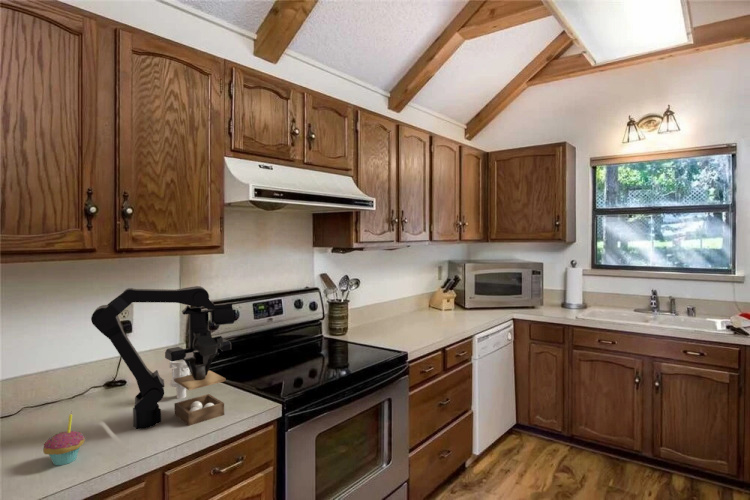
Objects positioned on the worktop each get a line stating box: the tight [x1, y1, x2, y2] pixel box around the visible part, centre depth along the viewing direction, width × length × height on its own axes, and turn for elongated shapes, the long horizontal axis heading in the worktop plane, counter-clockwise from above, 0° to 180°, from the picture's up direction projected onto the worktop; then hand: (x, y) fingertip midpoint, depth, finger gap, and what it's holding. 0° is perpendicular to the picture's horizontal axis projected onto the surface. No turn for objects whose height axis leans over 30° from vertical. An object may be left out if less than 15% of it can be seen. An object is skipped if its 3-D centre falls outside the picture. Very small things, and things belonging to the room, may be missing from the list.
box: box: [174, 393, 225, 427], centre depth 136 cm, size 11×11×4 cm
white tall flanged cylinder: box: [169, 360, 191, 400], centre depth 151 cm, size 7×7×15 cm
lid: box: [174, 363, 227, 391], centre depth 136 cm, size 11×11×5 cm
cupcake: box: [42, 410, 85, 466], centre depth 110 cm, size 9×8×12 cm
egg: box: [190, 401, 203, 409], centre depth 137 cm, size 4×4×4 cm
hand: (199, 376), depth 136 cm, fingers closed on lid, 3 cm apart
